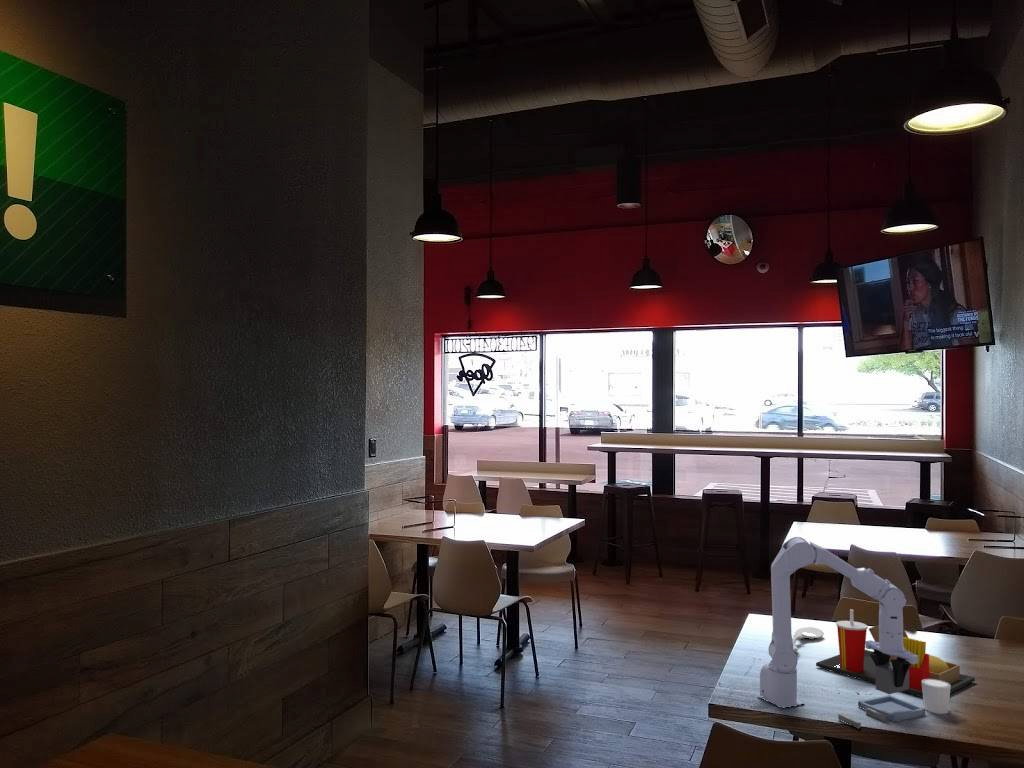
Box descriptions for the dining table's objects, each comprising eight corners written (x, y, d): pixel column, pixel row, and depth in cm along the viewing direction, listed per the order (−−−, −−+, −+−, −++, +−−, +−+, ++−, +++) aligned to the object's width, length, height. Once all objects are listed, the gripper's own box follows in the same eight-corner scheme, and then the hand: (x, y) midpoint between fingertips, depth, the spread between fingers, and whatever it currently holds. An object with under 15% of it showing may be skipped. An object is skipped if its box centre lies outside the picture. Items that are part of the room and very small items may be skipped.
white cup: (941, 704, 210) (941, 678, 210) (956, 714, 203) (956, 687, 203) (916, 704, 209) (916, 678, 210) (930, 714, 202) (930, 687, 203)
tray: (858, 707, 207) (858, 701, 207) (889, 700, 212) (889, 695, 212) (893, 722, 197) (893, 716, 197) (925, 714, 202) (925, 709, 202)
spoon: (768, 653, 253) (768, 642, 254) (801, 632, 278) (801, 622, 279) (796, 659, 248) (796, 648, 248) (827, 637, 273) (827, 627, 273)
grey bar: (875, 689, 205) (875, 666, 205) (895, 684, 209) (895, 661, 209) (889, 694, 201) (889, 671, 201) (909, 689, 205) (908, 666, 205)
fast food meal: (935, 703, 211) (935, 634, 212) (816, 669, 239) (816, 608, 239) (974, 684, 227) (974, 620, 228) (858, 653, 254) (858, 596, 255)
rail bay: (838, 720, 198) (838, 714, 198) (868, 713, 202) (868, 707, 203) (857, 729, 192) (857, 722, 193) (888, 722, 197) (888, 716, 197)
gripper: (926, 636, 200) (926, 690, 200) (878, 622, 214) (878, 672, 213) (907, 640, 197) (907, 694, 197) (859, 625, 211) (860, 676, 210)
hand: (891, 683), depth 205 cm, fingers closed on grey bar, 4 cm apart
